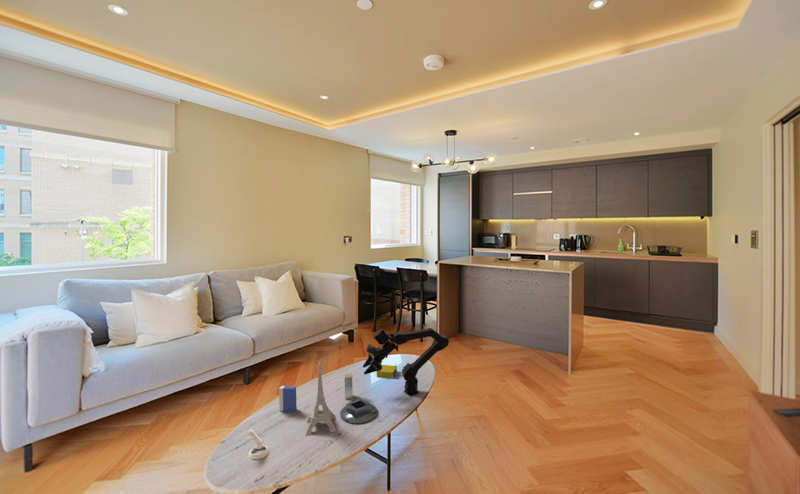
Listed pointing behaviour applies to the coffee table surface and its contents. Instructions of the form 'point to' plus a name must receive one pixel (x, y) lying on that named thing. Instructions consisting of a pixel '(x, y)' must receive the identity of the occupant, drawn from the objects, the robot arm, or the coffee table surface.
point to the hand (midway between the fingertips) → (363, 370)
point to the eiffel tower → (320, 413)
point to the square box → (348, 386)
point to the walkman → (287, 398)
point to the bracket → (387, 371)
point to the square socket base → (358, 412)
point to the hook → (259, 446)
